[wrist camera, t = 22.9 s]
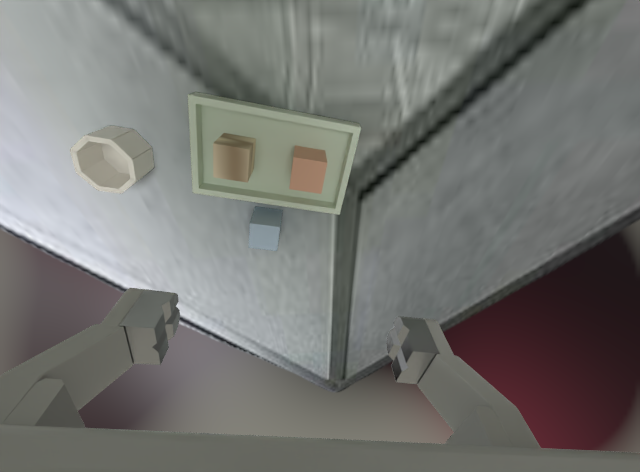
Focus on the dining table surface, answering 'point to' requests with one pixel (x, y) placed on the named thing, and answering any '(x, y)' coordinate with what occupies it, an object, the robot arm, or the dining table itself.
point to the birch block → (233, 157)
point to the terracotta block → (308, 169)
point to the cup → (112, 158)
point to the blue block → (265, 228)
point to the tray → (270, 151)
